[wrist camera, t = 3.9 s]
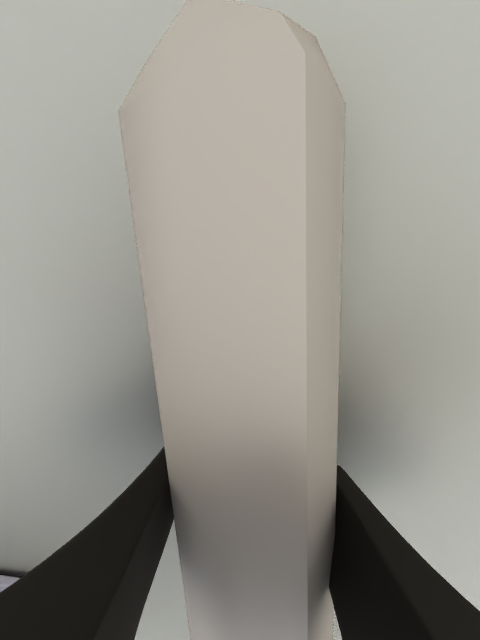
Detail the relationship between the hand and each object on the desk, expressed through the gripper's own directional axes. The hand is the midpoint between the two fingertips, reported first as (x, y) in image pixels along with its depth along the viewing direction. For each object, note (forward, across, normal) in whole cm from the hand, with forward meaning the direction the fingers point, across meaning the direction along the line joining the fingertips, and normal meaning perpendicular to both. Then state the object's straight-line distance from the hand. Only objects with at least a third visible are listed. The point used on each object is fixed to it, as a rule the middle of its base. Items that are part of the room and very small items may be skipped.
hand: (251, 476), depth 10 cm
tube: (+2, 0, 0) cm, 2 cm away
